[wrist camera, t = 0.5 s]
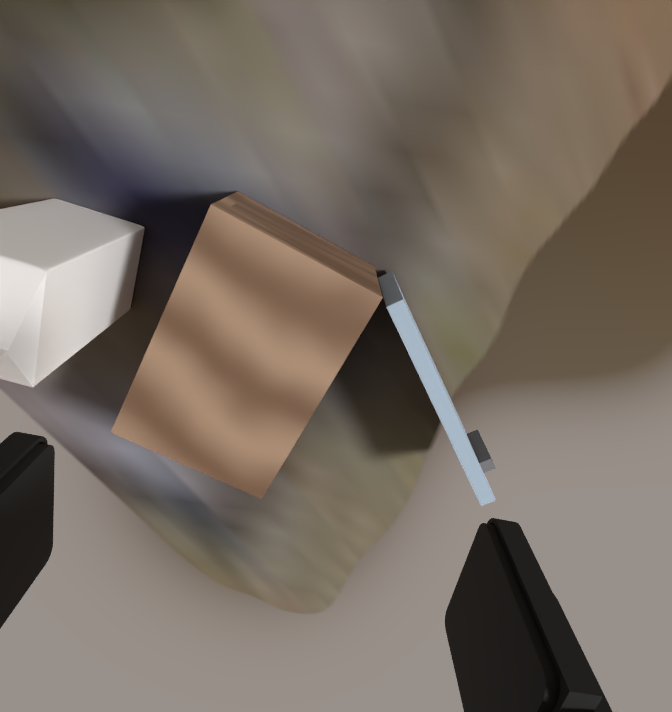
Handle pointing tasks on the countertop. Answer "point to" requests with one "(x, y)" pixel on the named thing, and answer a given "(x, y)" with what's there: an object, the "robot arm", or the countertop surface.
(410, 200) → the countertop surface
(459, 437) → the cabinet door
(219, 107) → the countertop surface
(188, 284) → the walnut cabinet
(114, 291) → the milk carton
